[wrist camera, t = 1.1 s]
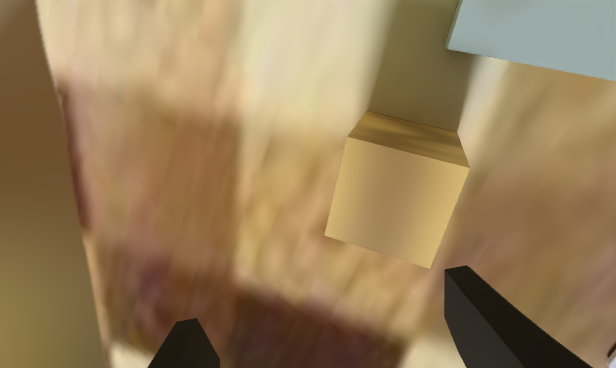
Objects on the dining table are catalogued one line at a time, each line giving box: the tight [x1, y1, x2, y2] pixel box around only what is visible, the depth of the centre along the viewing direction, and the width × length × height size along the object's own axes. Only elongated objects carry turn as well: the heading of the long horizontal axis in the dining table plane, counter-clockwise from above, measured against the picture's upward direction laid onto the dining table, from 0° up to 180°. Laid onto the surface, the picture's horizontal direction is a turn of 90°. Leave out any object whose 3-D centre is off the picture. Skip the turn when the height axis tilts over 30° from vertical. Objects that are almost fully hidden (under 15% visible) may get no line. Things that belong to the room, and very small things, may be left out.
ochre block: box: [325, 111, 470, 269], centre depth 18 cm, size 5×5×6 cm
